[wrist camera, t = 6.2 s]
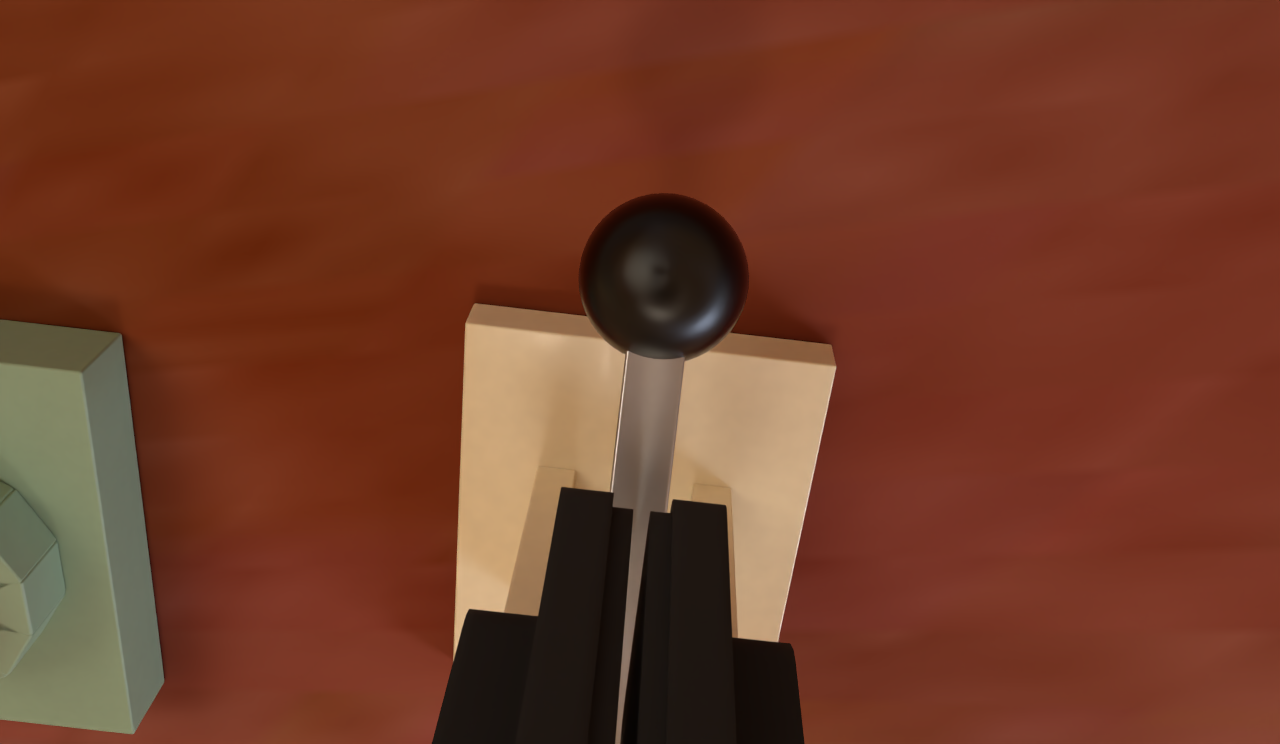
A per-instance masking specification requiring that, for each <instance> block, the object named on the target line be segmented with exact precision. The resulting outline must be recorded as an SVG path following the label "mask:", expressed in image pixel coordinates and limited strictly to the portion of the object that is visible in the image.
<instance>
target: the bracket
mask: <svg viewBox="0 0 1280 744" xmlns="http://www.w3.org/2000/svg"><path fill="white" fill-rule="evenodd" d="M624 362H625V354H623V353H621V352H619V351H618V350H616V349H615V348H613V347H612V346H611V345H610V344H608V343H607V342H606V341H605V340H604V339H603V338H602V337H601V336H600V335H599V334H598V332H597V331H596V330H595V328H594V327H593V325H592V324H591V322H590V320H589V318H588V316H581V315H572V314H563V313H555V312H546V311H537V310H529V309H520V308H512V307H503V306H494V305H486V304H477V303H475V304H474V305H473V307H472V310H471V312H470V314H469V317H468V319H467V321H466V324H465V347H464V374H463V402H462V430H461V457H460V485H459V512H458V540H457V567H456V595H455V622H454V650H453V661H454V657H455V653H456V650H457V646H458V642H459V638H460V634H461V630H462V627H463V623H464V620H465V617H466V614H467V612H468V610H469V609H476V610H485V611H495V612H504V613H513V614H522V615H531V616H538V613H539V608H540V602H541V596H542V591H543V585H544V580H545V574H546V568H547V563H548V557H549V551H550V546H551V540H552V535H553V529H554V523H555V518H556V512H557V507H558V501H559V495H560V490H561V487H568V488H577V489H586V490H595V491H604V492H610V483H611V475H612V466H613V457H614V449H615V440H616V431H617V423H618V414H619V405H620V397H621V388H622V379H623V371H624ZM835 371H836V363H835V359H834V354H833V350H832V346H831V345H830V344H822V343H814V342H805V341H796V340H788V339H779V338H770V337H762V336H753V335H745V334H736V333H729V334H728V335H727V336H726V337H725V338H724V339H723V340H722V341H721V342H720V343H719V344H718V345H717V346H715V347H714V348H712V349H711V350H709V351H708V352H706V353H704V354H702V355H700V356H699V357H696V358H693V359H691V360H688V361H685V362H684V371H683V379H682V388H681V397H680V405H679V414H678V423H677V431H676V440H675V449H674V457H673V466H672V475H671V483H670V492H669V500H668V509H667V513H670V510H671V504H672V500H673V499H677V500H686V501H695V502H704V503H713V504H722V505H726V507H727V522H728V546H729V570H730V594H731V618H732V637H734V638H743V639H752V640H761V641H771V642H778V639H779V635H780V630H781V625H782V621H783V616H784V611H785V606H786V602H787V597H788V592H789V588H790V583H791V578H792V573H793V569H794V564H795V559H796V555H797V550H798V545H799V541H800V536H801V531H802V526H803V522H804V517H805V512H806V508H807V503H808V498H809V493H810V489H811V484H812V479H813V475H814V470H815V465H816V461H817V456H818V451H819V446H820V442H821V437H822V432H823V428H824V423H825V418H826V413H827V409H828V404H829V399H830V395H831V390H832V385H833V381H834V376H835Z"/></svg>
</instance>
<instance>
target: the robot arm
mask: <svg viewBox="0 0 1280 744" xmlns="http://www.w3.org/2000/svg"><path fill="white" fill-rule="evenodd" d="M613 498H614V493H613V492H604V491H595V490H586V489H577V488H568V487H561V490H560V495H559V501H558V507H557V512H556V518H555V523H554V529H553V535H552V540H551V546H550V551H549V557H548V563H547V568H546V574H545V580H544V585H543V591H542V596H541V602H540V608H539V613H538V616H531V615H522V614H513V613H504V612H495V611H485V610H476V609H469V610H468V612H467V614H466V617H465V620H464V623H463V627H462V630H461V634H460V638H459V642H458V646H457V650H456V653H455V657H454V661H453V665H452V669H451V673H450V676H449V680H448V684H447V688H446V692H445V696H444V699H443V703H442V707H441V711H440V715H439V719H438V722H437V726H436V730H435V734H434V738H433V742H432V744H615V739H616V727H617V714H618V701H619V689H620V676H621V663H622V651H623V638H624V625H625V613H626V600H627V587H628V575H629V562H630V549H631V537H632V524H633V509H627V508H618V507H613ZM620 744H804V736H803V727H802V717H801V708H800V699H799V690H798V681H797V671H796V662H795V656H794V651H793V648H792V646H791V644H789V643H780V642H771V641H761V640H752V639H743V638H734V637H732V618H731V594H730V570H729V546H728V522H727V507H726V505H722V504H713V503H704V502H695V501H686V500H677V499H673V500H672V504H671V510H670V513H664V512H655V511H651V512H650V516H649V523H648V530H647V537H646V545H645V552H644V560H643V567H642V575H641V582H640V589H639V597H638V604H637V612H636V619H635V626H634V634H633V641H632V649H631V656H630V664H629V671H628V678H627V686H626V693H625V701H624V709H623V718H622V728H621V740H620Z"/></svg>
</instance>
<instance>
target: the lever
mask: <svg viewBox="0 0 1280 744" xmlns="http://www.w3.org/2000/svg"><path fill="white" fill-rule="evenodd" d="M748 285H749V272H748V264H747V259H746V255H745V252H744V249H743V246H742V244H741V242H740V240H739V238H738V236H737V234H736V233H735V231H734V230H733V228H732V227H731V225H730V224H729V223H728V222H727V221H726V220H725V219H724V218H723V217H722V216H721V215H720V214H719V213H718V212H716V211H715V210H714V209H712V208H711V207H709V206H708V205H706V204H704V203H702V202H700V201H698V200H696V199H693V198H690V197H687V196H683V195H678V194H668V193H659V194H650V195H645V196H640V197H638V198H635V199H632V200H630V201H628V202H626V203H624V204H622V205H620V206H618V207H617V208H616V209H614V210H613V211H611V212H610V213H609V214H608V215H607V216H606V217H605V218H603V219H602V221H601V222H600V223H599V224H598V225H597V226H596V228H595V229H594V231H593V232H592V234H591V235H590V237H589V239H588V241H587V243H586V246H585V248H584V251H583V254H582V257H581V262H580V268H579V291H580V296H581V300H582V304H583V307H584V310H585V312H586V315H587V316H588V318H589V320H590V322H591V324H592V325H593V327H594V328H595V330H596V331H597V332H598V334H599V335H600V336H601V337H602V338H603V339H604V340H605V341H606V342H607V343H608V344H610V345H611V346H612V347H613V348H615V349H616V350H618V351H619V352H621V353H623V354H625V362H624V371H623V379H622V388H621V397H620V405H619V414H618V423H617V431H616V440H615V449H614V457H613V466H612V475H611V483H610V492H613V493H614V498H613V507H618V508H627V509H633V524H632V537H631V549H630V562H629V575H628V587H627V600H626V613H625V625H624V638H623V651H622V663H621V676H620V689H619V701H618V714H617V727H616V739H615V744H620V740H621V728H622V718H623V709H624V701H625V693H626V686H627V678H628V671H629V664H630V656H631V649H632V641H633V634H634V626H635V619H636V612H637V604H638V597H639V589H640V582H641V575H642V567H643V560H644V552H645V545H646V537H647V530H648V523H649V516H650V512H651V511H655V512H664V513H667V509H668V500H669V492H670V483H671V475H672V466H673V457H674V449H675V440H676V431H677V423H678V414H679V405H680V397H681V388H682V379H683V371H684V362H685V361H688V360H691V359H693V358H696V357H699V356H700V355H702V354H704V353H706V352H708V351H709V350H711V349H712V348H714V347H715V346H717V345H718V344H719V343H720V342H721V341H722V340H723V339H724V338H725V337H726V336H727V335H728V334H729V332H730V331H731V330H732V329H733V327H734V326H735V324H736V322H737V321H738V319H739V317H740V315H741V313H742V311H743V308H744V305H745V302H746V298H747V293H748Z"/></svg>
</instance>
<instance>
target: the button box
mask: <svg viewBox="0 0 1280 744" xmlns="http://www.w3.org/2000/svg"><path fill="white" fill-rule="evenodd" d="M163 683H164V673H163V665H162V657H161V649H160V641H159V633H158V624H157V616H156V608H155V600H154V592H153V584H152V576H151V568H150V560H149V552H148V544H147V535H146V527H145V519H144V511H143V503H142V495H141V487H140V479H139V471H138V463H137V454H136V446H135V438H134V430H133V422H132V414H131V406H130V398H129V390H128V382H127V374H126V365H125V357H124V349H123V341H122V335H121V334H120V333H114V332H105V331H96V330H88V329H79V328H70V327H62V326H53V325H44V324H36V323H27V322H18V321H10V320H1V319H0V719H2V720H11V721H19V722H28V723H37V724H46V725H55V726H64V727H73V728H82V729H91V730H99V731H108V732H117V733H126V734H134V733H135V731H136V729H137V727H138V726H139V724H140V722H141V721H142V719H143V717H144V716H145V714H146V712H147V710H148V709H149V707H150V705H151V704H152V702H153V700H154V699H155V697H156V695H157V693H158V692H159V690H160V688H161V687H162V685H163Z"/></svg>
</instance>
